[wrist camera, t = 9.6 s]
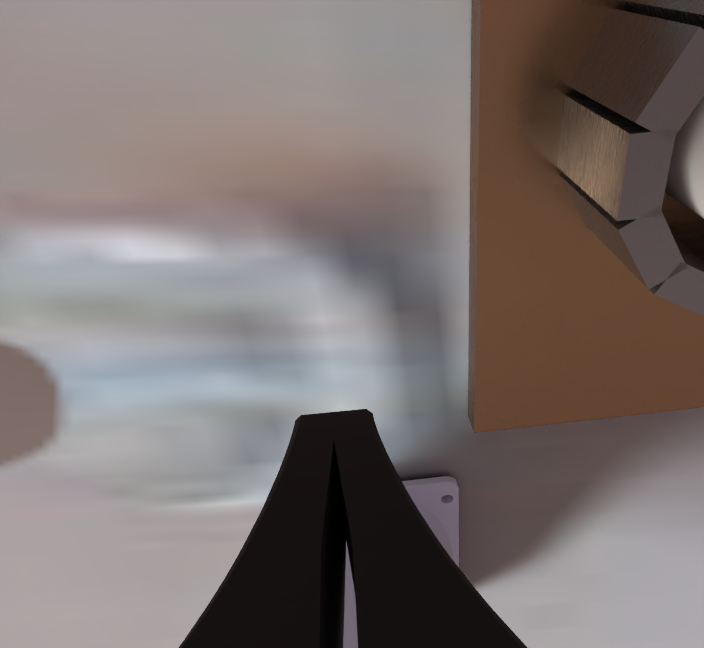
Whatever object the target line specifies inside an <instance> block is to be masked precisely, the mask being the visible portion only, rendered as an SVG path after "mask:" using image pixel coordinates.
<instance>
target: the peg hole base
mask: <svg viewBox="0 0 704 648" xmlns="http://www.w3.org/2000/svg"><path fill="white" fill-rule="evenodd" d="M703 96H704V0H472V27H471V145H470V264H469V383H468V416H469V419H470V422H471V425H472V428H473V431H474V433H476V432H485V431H494V430H502V429H511V428H520V427H529V426H538V425H547V424H556V423H565V422H574V421H582V420H591V419H600V418H609V417H618V416H627V415H636V414H645V413H653V412H662V411H671V410H680V409H689V408H698V407H704V219H703V218H702V217H701V216H699V215H698V214H696V213H695V212H693V211H692V210H690V209H689V208H688V207H686V206H685V205H683V204H682V203H680V202H679V201H678V200H676V199H675V198H673V197H672V196H670V195H669V194H668V193H666V192H665V188H666V183H667V178H668V172H669V167H670V162H671V157H672V152H673V146H674V141H675V136H676V134H677V133H678V131H679V130H680V129H681V127H682V126H683V124H684V123H685V122H686V120H687V119H688V117H689V116H690V115H691V113H692V112H693V110H694V109H695V108H696V106H697V105H698V103H699V102H700V101H701V99H702V98H703Z"/></svg>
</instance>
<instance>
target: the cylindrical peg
mask: <svg viewBox="0 0 704 648" xmlns="http://www.w3.org/2000/svg"><path fill="white" fill-rule="evenodd" d="M665 192H666V193H668V194H669V195H670V196H672V197H673V198H675V199H676V200H678V201H679V202H680V203H682V204H683V205H685V206H686V207H688V208H689V209H690V210H692V211H693V212H695V213H696V214H698V215H699V216H701V217H702V218H703V219H704V96H703V98H702V99H701V101H700V102H699V103H698V105H697V106H696V108H695V109H694V110H693V112H692V113H691V115H690V116H689V117H688V119H687V120H686V122H685V123H684V124H683V126H682V127H681V129H680V130H679V131H678V133H677V134H676V136H675V141H674V146H673V152H672V157H671V162H670V167H669V172H668V178H667V183H666V188H665Z"/></svg>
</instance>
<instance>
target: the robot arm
mask: <svg viewBox="0 0 704 648" xmlns="http://www.w3.org/2000/svg"><path fill="white" fill-rule="evenodd" d="M445 495H448V496H445ZM179 648H527V647H526V646H525V645H524V643H523V642H522V641H521V640H520V639H519V638H518V637H517V636H516V635H515V634H514V633H513V631H512V630H511V629H510V628H509V627H508V626H507V625H506V624H505V623H504V622H503V620H502V619H501V618H500V617H499V616H498V615H497V614H496V613H495V612H494V611H493V609H492V608H491V607H490V606H489V605H488V604H487V602H486V601H485V600H484V599H483V597H482V596H481V595H480V594H479V593H478V591H477V590H476V589H475V588H474V587H473V585H472V584H471V583H470V582H469V580H468V579H467V578H466V577H465V575H464V574H463V573H462V571H461V570H460V569H459V488H458V485H457V481H456V480H455V479H454V478H453V477H450V476H443V477H434V478H425V479H416V480H407V481H401V479H400V477H399V476H398V474H397V472H396V470H395V468H394V466H393V464H392V462H391V460H390V458H389V456H388V454H387V452H386V450H385V448H384V445H383V443H382V441H381V438H380V436H379V433H378V431H377V428H376V425H375V422H374V418H373V413H371V412H370V411H368V410H367V409H361V410H351V411H340V412H330V413H319V414H309V415H301V416H300V417H299V418H298V419H297V420H296V421H295V425H294V429H293V433H292V436H291V439H290V443H289V446H288V449H287V451H286V454H285V457H284V459H283V462H282V465H281V467H280V470H279V472H278V475H277V477H276V479H275V482H274V484H273V486H272V488H271V491H270V493H269V495H268V498H267V500H266V502H265V504H264V506H263V509H262V511H261V513H260V515H259V517H258V519H257V521H256V522H255V524H254V526H253V528H252V530H251V532H250V534H249V536H248V538H247V540H246V542H245V544H244V546H243V548H242V549H241V551H240V553H239V555H238V557H237V558H236V560H235V562H234V564H233V565H232V567H231V569H230V571H229V572H228V574H227V576H226V577H225V579H224V581H223V582H222V584H221V585H220V587H219V589H218V590H217V592H216V593H215V595H214V597H213V598H212V600H211V601H210V603H209V604H208V606H207V607H206V609H205V610H204V612H203V613H202V615H201V616H200V618H199V619H198V621H197V622H196V624H195V625H194V627H193V628H192V629H191V631H190V632H189V634H188V635H187V637H186V638H185V640H184V641H183V642H182V644H181V645H180V647H179Z"/></svg>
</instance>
